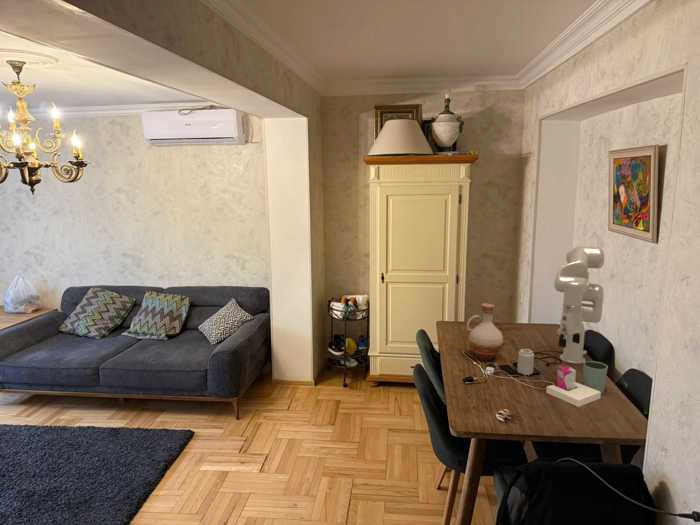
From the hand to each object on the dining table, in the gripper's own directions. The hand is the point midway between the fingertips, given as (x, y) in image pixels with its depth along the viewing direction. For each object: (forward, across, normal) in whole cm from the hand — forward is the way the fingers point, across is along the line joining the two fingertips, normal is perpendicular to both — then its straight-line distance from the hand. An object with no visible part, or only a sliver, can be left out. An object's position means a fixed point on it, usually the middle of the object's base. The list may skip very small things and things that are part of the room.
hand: (569, 344), depth 215 cm
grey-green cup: (+23, +14, -5) cm, 27 cm away
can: (+23, +2, +24) cm, 33 cm away
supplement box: (+23, 0, 0) cm, 23 cm away
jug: (+23, 0, +50) cm, 55 cm away
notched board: (+23, 0, -4) cm, 23 cm away
